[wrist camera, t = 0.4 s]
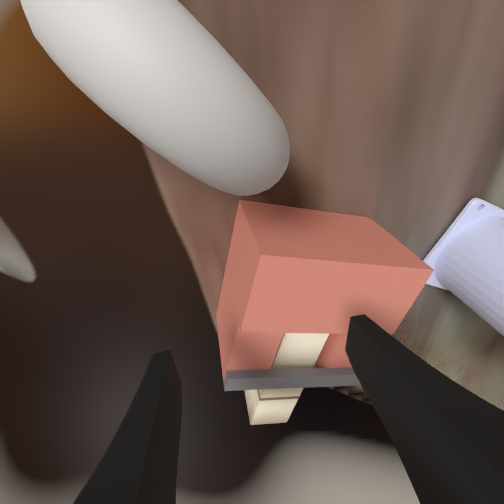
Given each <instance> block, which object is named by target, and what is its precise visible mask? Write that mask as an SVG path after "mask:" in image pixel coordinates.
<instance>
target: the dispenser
mask: <svg viewBox="0 0 504 504" xmlns="http://www.w3.org/2000/svg"><path fill="white" fill-rule="evenodd" d="M433 271H434V269H432V268H431V267H430V266H429V265H427V264H426V263H425V262H424V261H423V260H421V259H420V258H419V257H418V256H416V255H415V254H414V253H413V252H411V251H410V250H409V249H408V248H406V247H405V246H404V245H403V244H402V243H400V242H399V241H398V240H397V239H395V238H394V237H393V236H392V235H390V234H389V233H388V232H387V231H386V230H384V229H383V228H382V227H381V226H379V225H378V224H377V223H376V222H374V221H373V220H372V219H371V218H369V217H362V216H355V215H348V214H340V213H333V212H326V211H318V210H311V209H304V208H297V207H289V206H282V205H275V204H268V203H260V202H253V201H246V200H239V204H238V209H237V214H236V219H235V224H234V229H233V234H232V239H231V244H230V249H229V254H228V259H227V264H226V269H225V274H224V279H223V284H222V289H221V294H220V299H219V304H218V309H217V314H216V317H217V326H218V336H219V345H220V353H221V363H222V372H223V381H224V390H225V391H235V390H259V389H282V388H306V387H329V386H353V385H361V384H360V382H359V380H358V378H357V377H356V375H355V373H354V370H353V368H352V366H351V363H350V361H349V359H348V356H347V354H346V351H345V347H346V340H347V334H348V328H349V322H350V317H352V316H357V315H362V314H365V315H366V316H368V317H369V318H370V319H371V320H373V321H374V322H375V323H376V324H377V325H379V326H380V327H381V328H382V329H384V330H385V331H386V332H387V333H389V334H394V332H395V331H396V329H397V328H398V326H399V324H400V323H401V321H402V320H403V318H404V317H405V315H406V313H407V312H408V310H409V309H410V307H411V306H412V304H413V302H414V301H415V299H416V298H417V296H418V295H419V293H420V291H421V290H422V288H423V287H424V285H425V284H426V282H427V280H428V279H429V277H430V276H431V274H432V273H433ZM284 333H327V334H329V336H328V338H327V340H326V342H325V344H324V346H323V348H322V350H321V352H320V354H319V357H318V359H317V361H316V363H315V364H316V367H317V368H309V369H271V366H272V363H273V361H274V358H275V355H276V353H277V350H278V347H279V345H280V342H281V339H282V336H283V334H284Z"/></svg>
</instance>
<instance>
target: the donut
mask: <svg viewBox="0 0 504 504" xmlns="http://www.w3.org/2000/svg"><path fill="white" fill-rule="evenodd" d="M20 1H21V4H22V7H23V10H24V12H25V15H26V17H27V19H28V22H29V24H30V27H31V29H32V32H33V34H34V36H35V37H36V39H37V40H38V41H39V43H40V44H41V45H42V47H43V48H44V49H45V51H46V52H47V53H48V55H49V56H50V57H51V59H52V60H53V61H54V62H55V63H56V64H57V65H58V66H59V68H60V69H61V70H62V71H63V72H64V73H65V75H66V76H67V77H68V78H69V79H70V80H71V81H72V82H73V83H74V84H75V85H76V86H77V87H78V88H79V89H80V90H82V91H83V92H84V93H85V94H86V95H87V96H88V97H89V98H90V99H91V100H92V101H93V102H95V103H96V104H97V105H98V106H99V107H100V108H101V109H102V110H103V111H104V112H105V113H107V114H108V115H109V116H111V117H112V118H113V119H114V120H116V121H117V122H118V123H119V124H120V125H122V126H123V127H124V128H125V129H127V130H128V131H129V132H130V133H132V134H133V135H134V136H135V137H137V138H138V139H139V140H140V141H142V142H143V143H144V144H145V145H147V146H148V147H150V148H151V149H153V150H154V151H155V152H157V153H158V154H160V155H161V156H163V157H164V158H165V159H167V160H168V161H170V162H171V163H173V164H174V165H176V166H177V167H178V168H180V169H181V170H183V171H185V172H186V173H188V174H190V175H191V176H193V177H195V178H197V179H198V180H200V181H202V182H203V183H205V184H207V185H209V186H211V187H214V188H216V189H219V190H221V191H224V192H226V193H230V194H233V195H237V196H246V195H254V194H258V193H261V192H263V191H266V190H268V189H270V188H271V187H272V186H273V185H275V184H276V183H277V182H278V181H279V180H280V179H281V177H282V175H283V174H284V172H285V171H286V169H287V165H288V162H289V158H290V142H289V137H288V134H287V131H286V128H285V125H284V122H283V121H282V120H281V118H280V117H279V115H278V114H277V112H276V111H275V109H274V108H273V106H272V105H271V104H270V102H269V101H268V100H267V99H266V97H265V96H264V95H263V94H262V92H261V91H260V90H259V89H258V88H257V86H256V85H255V84H254V83H253V81H252V80H251V79H250V78H249V76H248V75H247V74H246V73H245V72H244V70H243V69H242V68H241V67H240V66H239V65H238V64H237V63H236V62H235V60H234V59H233V58H232V57H231V56H230V55H229V54H228V53H227V51H226V50H225V49H224V48H223V47H222V46H221V45H220V44H219V43H218V41H217V40H216V39H215V38H214V37H213V36H212V35H211V34H210V33H209V32H208V31H207V30H206V29H205V28H204V27H203V26H202V25H201V24H200V23H199V22H198V21H197V20H196V19H195V18H194V16H193V15H192V14H191V13H190V12H189V11H188V10H187V9H186V8H185V7H184V6H183V5H182V4H181V3H180V2H179V1H178V0H20Z"/></svg>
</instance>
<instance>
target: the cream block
mask: <svg viewBox="0 0 504 504" xmlns="http://www.w3.org/2000/svg"><path fill="white" fill-rule="evenodd" d="M328 336H329V334H327V333H284V334H283V336H282V339H281V342H280V345H279V347H278V350H277V353H276V355H275V358H274V361H273V363H272V366H271V369H309V368H313V367H314V365H315V363H316V361H317V359H318V357H319V354H320V352H321V350H322V348H323V346H324V344H325V342H326V340H327V338H328ZM302 389H303V388H282V389H259V390H245V396H246V402H247V407H248V413H249V418H250V424H251V425H256V424H269V423H281V422H287V421H288V419H289V417H290V415H291V412H292V410H293V408H294V406H295V404H296V402H297V400H298V398H299V397H300V394H301V392H302Z"/></svg>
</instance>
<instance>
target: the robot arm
mask: <svg viewBox="0 0 504 504" xmlns="http://www.w3.org/2000/svg"><path fill="white" fill-rule="evenodd" d="M423 261H424V262H425V263H426V264H427V265H429V266H430V267H431V268H432V269H434V271H433V273H432V274H431V276H430V277H429V279H428V280H427V282H426V284H427V285H431V286H435V287H438V288H442V289H446V290H449V291H451V292H452V293H453V294H454V295H455V296H456V297H458V298H459V299H460V300H461V301H462V302H464V303H465V304H466V305H467V306H468V307H470V308H471V309H472V310H473V311H474V312H475V313H477V314H478V315H479V316H480V317H481V318H483V319H484V320H485V321H486V322H487V323H489V324H490V325H491V326H492V327H493V328H494V329H496V330H497V331H498V332H499V333H500V334H502V335H503V336H504V210H503V209H501V208H498V207H496V206H494V205H492V204H490V203H488V202H486V201H483V200H481V199H479V198H473V199H472V200H470V201H469V203H468V204H467V205H466V206H465V208H464V209H463V210H462V211H461V213H460V214H459V215H458V217H457V218H456V219H455V220H454V222H453V223H452V224H451V225H450V227H449V228H448V229H447V231H446V232H445V233H444V234H443V236H442V237H441V238H440V239H439V241H438V242H437V243H436V245H435V246H434V247H433V248H432V250H431V251H430V252H429V254H428V255H427V256H426V257H425V259H424V260H423ZM345 351H346V354H347V356H348V359H349V361H350V363H351V366H352V368H353V370H354V373H355V375H356V377H357V378H358V380H359V382H360V384H361V386H362V387H363V389H364V391H365V393H366V394H367V396H368V398H369V400H370V401H371V403H372V405H373V407H374V408H375V410H376V412H377V414H378V416H379V417H380V419H381V421H382V423H383V424H384V426H385V428H386V430H387V432H388V434H389V435H390V437H391V439H392V441H393V443H394V445H395V448H396V450H397V452H398V454H399V456H400V458H401V461H402V463H403V465H404V467H405V469H406V472H407V474H408V476H409V478H410V481H411V483H412V485H413V488H414V490H415V492H416V495H417V496H418V499H419V502H420V504H504V411H503V410H501V409H499V408H498V407H496V406H494V405H492V404H490V403H489V402H487V401H485V400H483V399H482V398H480V397H478V396H477V395H475V394H473V393H472V392H470V391H469V390H467V389H465V388H464V387H462V386H461V385H459V384H457V383H456V382H454V381H453V380H451V379H450V378H448V377H447V376H445V375H444V374H442V373H441V372H439V371H438V370H436V369H435V368H434V367H432V366H431V365H429V364H428V363H426V362H425V361H424V360H422V359H421V358H420V357H418V356H417V355H416V354H414V353H413V352H412V351H410V350H409V349H408V348H406V347H405V346H404V345H403V344H401V343H400V342H399V341H397V340H396V339H395V338H394V337H392V336H391V335H390V334H389V333H387V332H386V331H385V330H384V329H382V328H381V327H380V326H379V325H377V324H376V323H375V322H374V321H373V320H371V319H370V318H369V317H368V316H366V315H365V314H362V315H357V316H352V317H350V322H349V328H348V334H347V340H346V347H345ZM181 389H182V388H181V380H180V377H179V374H178V371H177V368H176V366H175V363H174V360H173V357H172V354H171V351H164V352H160V353H154V354H153V355H152V356H151V359H150V362H149V364H148V367H147V369H146V372H145V374H144V376H143V379H142V381H141V383H140V385H139V388H138V390H137V392H136V394H135V396H134V398H133V400H132V402H131V404H130V407H129V409H128V411H127V413H126V415H125V417H124V419H123V421H122V422H121V424H120V426H119V428H118V430H117V432H116V433H115V435H114V437H113V439H112V441H111V443H110V445H109V446H108V448H107V450H106V451H105V453H104V455H103V457H102V458H101V460H100V462H99V463H98V465H97V467H96V468H95V470H94V472H93V473H92V475H91V476H90V478H89V480H88V481H87V483H86V484H85V486H84V487H83V489H82V490H81V492H80V493H79V495H78V496H77V498H76V500H75V501H74V503H73V504H176V477H177V465H178V453H179V440H180V429H181V416H182V390H181Z"/></svg>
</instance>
